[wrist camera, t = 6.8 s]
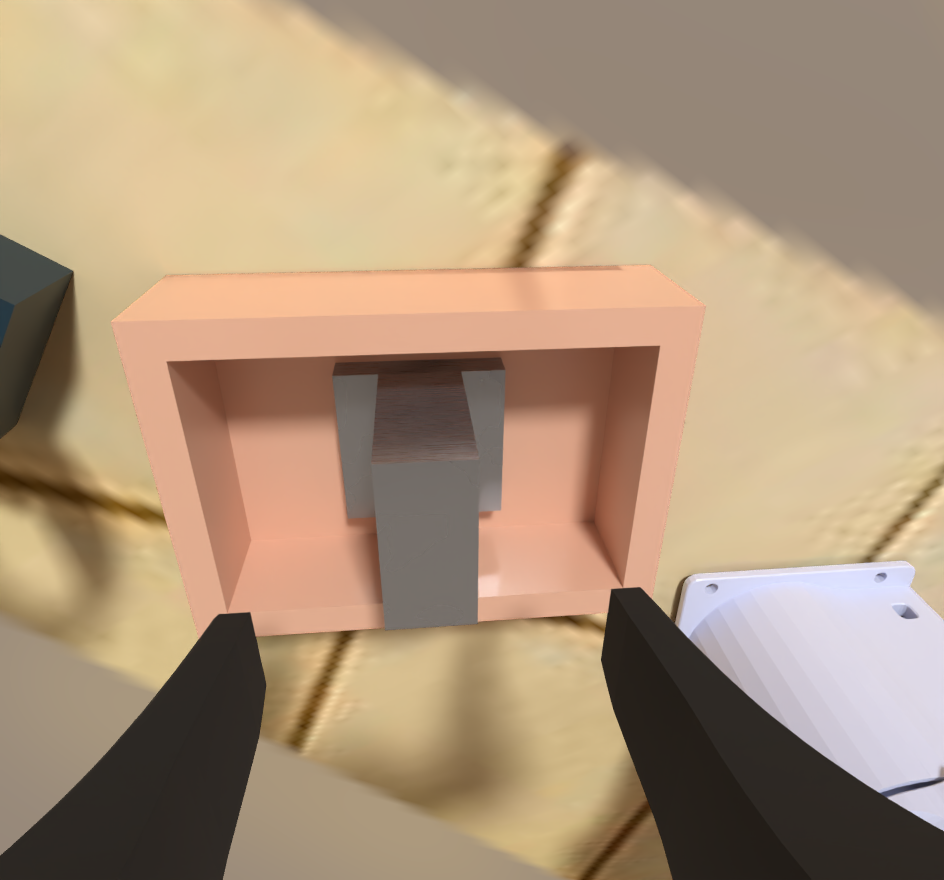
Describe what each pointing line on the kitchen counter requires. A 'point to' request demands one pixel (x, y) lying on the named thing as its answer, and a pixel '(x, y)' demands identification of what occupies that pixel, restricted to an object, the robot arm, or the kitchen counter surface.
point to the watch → (25, 321)
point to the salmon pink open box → (396, 339)
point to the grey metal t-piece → (423, 476)
